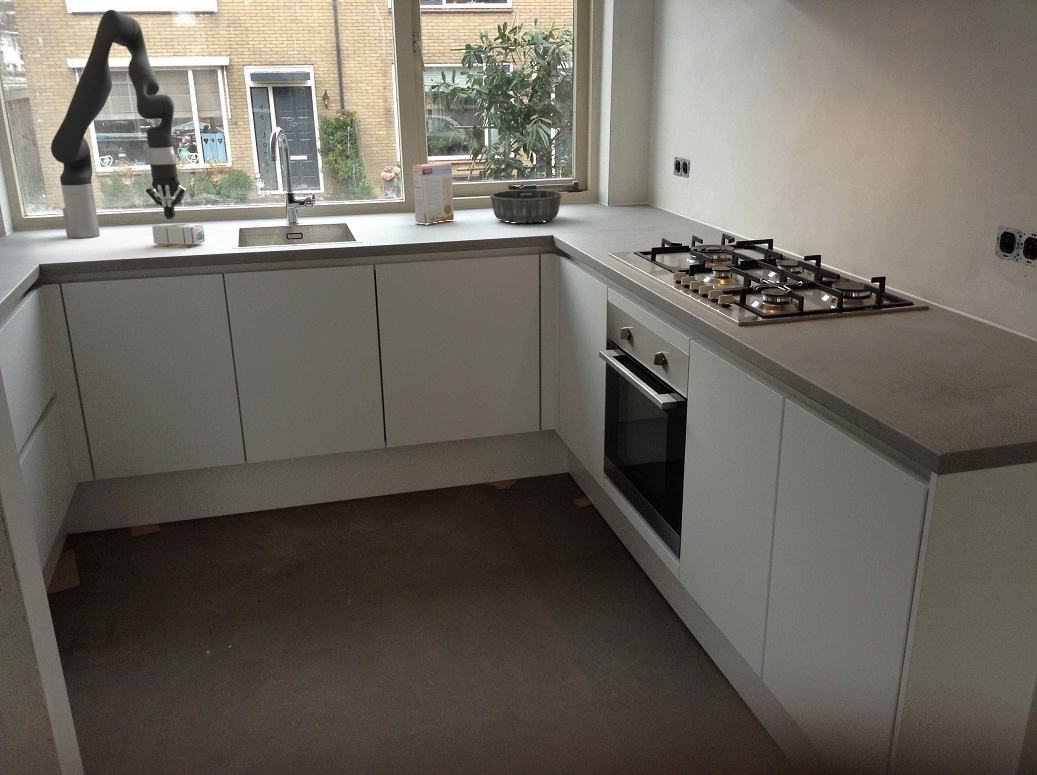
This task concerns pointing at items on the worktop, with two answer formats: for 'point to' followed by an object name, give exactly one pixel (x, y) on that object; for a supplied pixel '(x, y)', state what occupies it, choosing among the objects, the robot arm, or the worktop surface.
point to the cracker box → (433, 192)
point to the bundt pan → (526, 205)
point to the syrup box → (178, 234)
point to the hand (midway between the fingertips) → (170, 218)
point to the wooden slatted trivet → (173, 245)
